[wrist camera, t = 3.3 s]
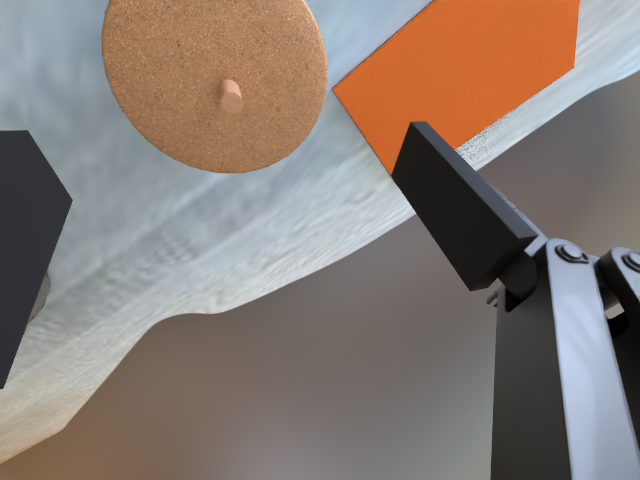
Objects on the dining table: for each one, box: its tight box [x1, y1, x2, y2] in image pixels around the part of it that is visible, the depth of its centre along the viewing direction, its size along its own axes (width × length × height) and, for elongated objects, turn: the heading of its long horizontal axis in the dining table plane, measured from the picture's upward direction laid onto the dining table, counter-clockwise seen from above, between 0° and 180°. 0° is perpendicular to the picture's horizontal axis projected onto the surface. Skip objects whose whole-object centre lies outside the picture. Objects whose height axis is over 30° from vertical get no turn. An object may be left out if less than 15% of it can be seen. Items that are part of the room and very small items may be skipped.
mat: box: [332, 0, 579, 175], centre depth 27 cm, size 20×15×1 cm
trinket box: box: [102, 0, 328, 173], centre depth 17 cm, size 11×11×9 cm
